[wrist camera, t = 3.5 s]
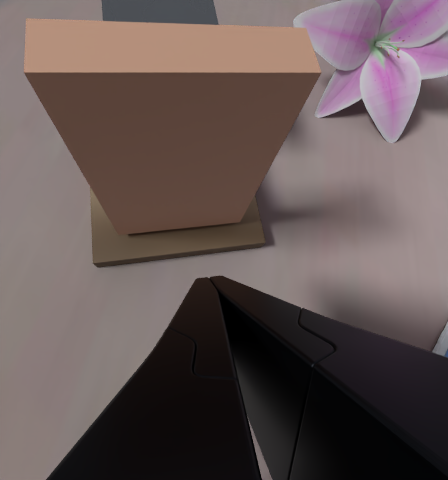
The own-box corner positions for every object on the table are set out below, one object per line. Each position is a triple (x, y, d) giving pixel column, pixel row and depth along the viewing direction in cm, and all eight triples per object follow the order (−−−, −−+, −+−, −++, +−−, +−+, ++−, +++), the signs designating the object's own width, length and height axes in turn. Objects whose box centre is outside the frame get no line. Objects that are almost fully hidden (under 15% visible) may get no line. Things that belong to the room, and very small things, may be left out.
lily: (251, 76, 25) (295, 13, 15) (343, -36, 24) (446, -172, 15) (342, 170, 28) (424, 165, 18) (426, 73, 27) (555, 16, 18)
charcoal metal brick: (206, 135, 20) (220, 33, 13) (129, 138, 19) (103, 30, 12) (197, 88, 21) (207, -27, 14) (125, 89, 20) (99, -34, 13)
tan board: (261, 247, 19) (265, 242, 18) (97, 267, 17) (92, 263, 16) (224, 78, 23) (226, 67, 22) (89, 79, 21) (85, 66, 20)
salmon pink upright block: (239, 222, 17) (321, 72, 8) (118, 234, 16) (24, 72, 6) (213, 88, 20) (247, -145, 10) (108, 89, 19) (34, -178, 9)
